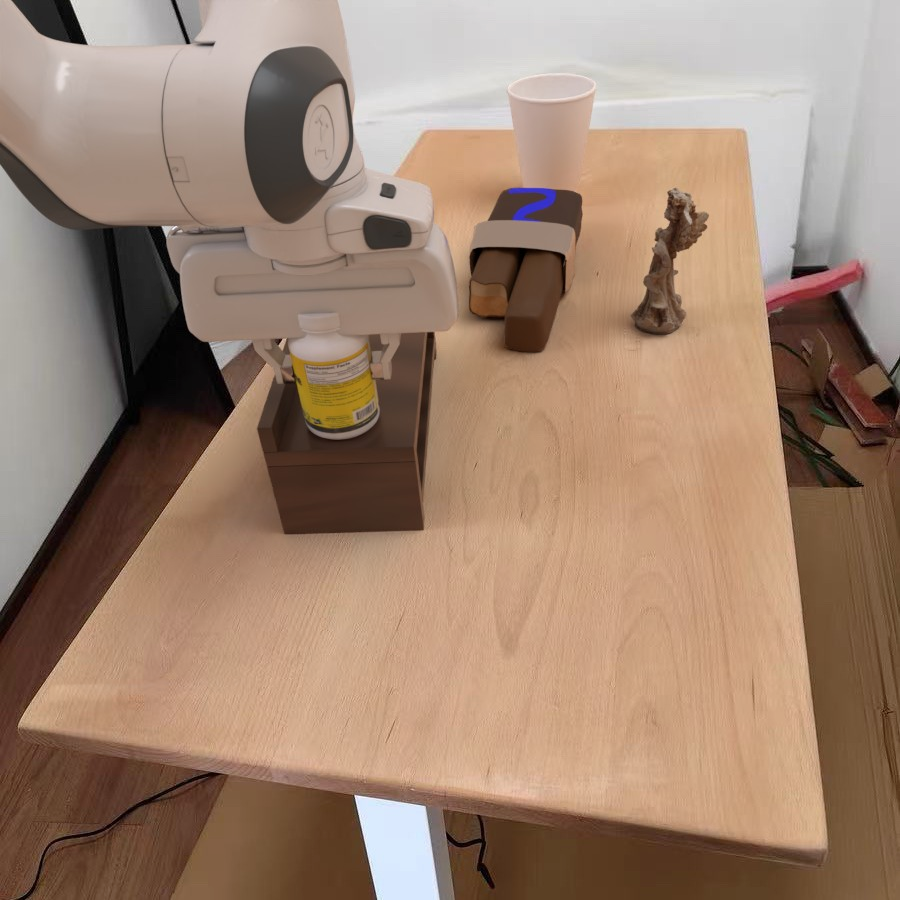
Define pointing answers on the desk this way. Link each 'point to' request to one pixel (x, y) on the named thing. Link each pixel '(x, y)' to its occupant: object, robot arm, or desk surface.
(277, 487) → the shelf
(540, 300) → the chocolate bar pack
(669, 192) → the figurine
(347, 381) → the pill bottle
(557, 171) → the cup
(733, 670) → the desk surface
